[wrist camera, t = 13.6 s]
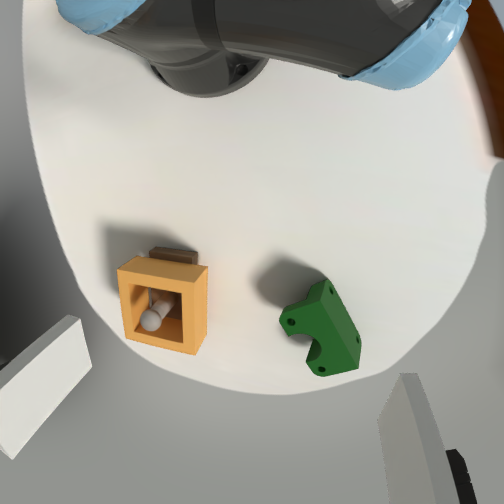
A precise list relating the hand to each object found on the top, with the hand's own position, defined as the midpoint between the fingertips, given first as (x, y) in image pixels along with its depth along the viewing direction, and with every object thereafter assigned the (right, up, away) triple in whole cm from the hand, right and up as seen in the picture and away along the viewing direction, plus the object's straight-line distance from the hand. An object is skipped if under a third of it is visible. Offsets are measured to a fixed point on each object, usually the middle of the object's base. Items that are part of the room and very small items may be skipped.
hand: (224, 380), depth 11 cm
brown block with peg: (-9, -1, +31) cm, 32 cm away
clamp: (+10, -4, +28) cm, 31 cm away
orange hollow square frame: (-10, -1, +28) cm, 30 cm away
